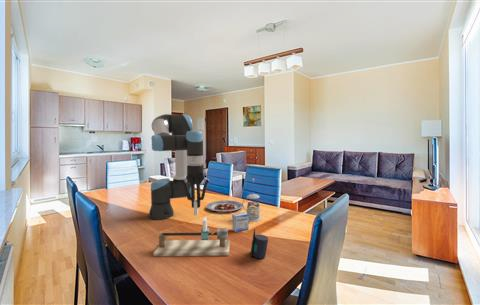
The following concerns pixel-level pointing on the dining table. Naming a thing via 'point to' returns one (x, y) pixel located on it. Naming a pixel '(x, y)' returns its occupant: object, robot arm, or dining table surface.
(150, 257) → the dining table surface
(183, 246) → the cord rig
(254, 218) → the french press
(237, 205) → the ceramic plate
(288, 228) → the dining table surface
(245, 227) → the medicine box
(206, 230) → the white slab teal box
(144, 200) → the dining table surface
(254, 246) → the speaker
